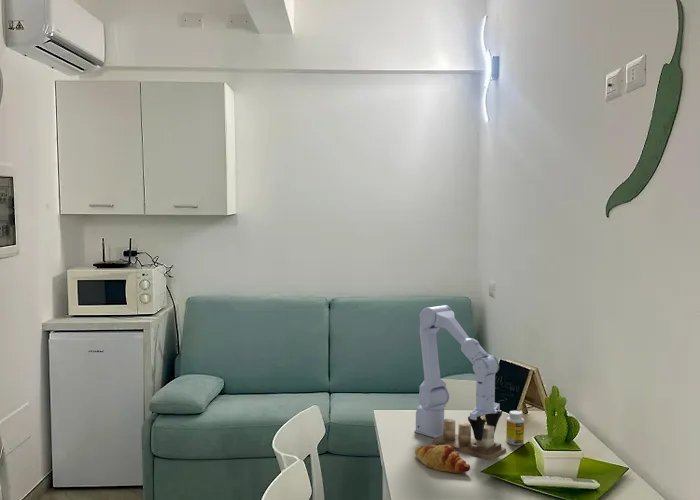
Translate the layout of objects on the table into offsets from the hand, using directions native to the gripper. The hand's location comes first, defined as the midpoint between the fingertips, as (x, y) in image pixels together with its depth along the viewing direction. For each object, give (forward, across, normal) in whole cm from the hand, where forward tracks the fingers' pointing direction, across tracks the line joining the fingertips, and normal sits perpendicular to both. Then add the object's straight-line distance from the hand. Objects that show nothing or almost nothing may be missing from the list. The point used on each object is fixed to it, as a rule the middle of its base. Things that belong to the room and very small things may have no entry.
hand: (484, 436), depth 207 cm
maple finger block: (+4, 0, 0) cm, 4 cm away
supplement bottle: (+5, +14, -3) cm, 15 cm away
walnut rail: (+5, 0, +6) cm, 8 cm away
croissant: (+5, -18, +4) cm, 19 cm away
